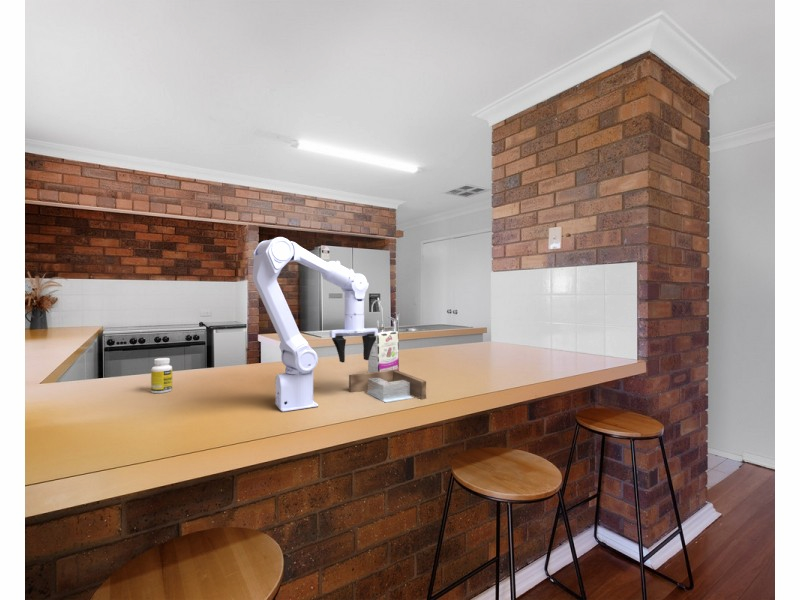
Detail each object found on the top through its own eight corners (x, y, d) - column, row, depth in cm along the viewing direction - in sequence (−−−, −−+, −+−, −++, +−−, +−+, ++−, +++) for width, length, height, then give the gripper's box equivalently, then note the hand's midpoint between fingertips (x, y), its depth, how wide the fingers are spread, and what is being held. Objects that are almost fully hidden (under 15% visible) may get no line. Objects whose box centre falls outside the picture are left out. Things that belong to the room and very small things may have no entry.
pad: (385, 402, 105) (385, 402, 105) (366, 392, 115) (366, 392, 115) (413, 398, 110) (413, 397, 110) (392, 389, 120) (392, 388, 120)
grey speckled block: (367, 392, 115) (367, 378, 115) (392, 388, 119) (392, 375, 119) (383, 400, 107) (383, 386, 106) (409, 396, 111) (409, 382, 111)
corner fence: (375, 406, 101) (375, 387, 101) (348, 391, 117) (349, 374, 117) (426, 398, 109) (426, 381, 109) (395, 385, 125) (395, 369, 125)
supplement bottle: (165, 393, 113) (164, 360, 113) (146, 393, 113) (146, 360, 113) (176, 389, 118) (176, 357, 118) (158, 389, 119) (158, 357, 118)
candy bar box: (388, 376, 138) (388, 330, 137) (399, 378, 135) (399, 331, 134) (367, 382, 129) (367, 333, 129) (378, 384, 126) (378, 334, 126)
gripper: (335, 315, 106) (335, 365, 106) (382, 314, 113) (382, 360, 113) (327, 314, 112) (327, 361, 112) (372, 313, 119) (372, 357, 119)
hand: (354, 360), depth 113 cm, fingers open, 7 cm apart
